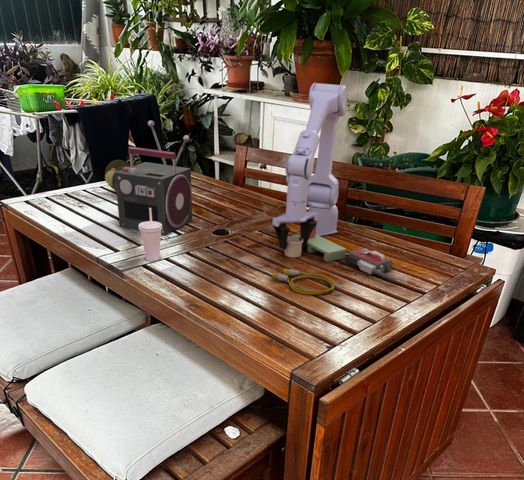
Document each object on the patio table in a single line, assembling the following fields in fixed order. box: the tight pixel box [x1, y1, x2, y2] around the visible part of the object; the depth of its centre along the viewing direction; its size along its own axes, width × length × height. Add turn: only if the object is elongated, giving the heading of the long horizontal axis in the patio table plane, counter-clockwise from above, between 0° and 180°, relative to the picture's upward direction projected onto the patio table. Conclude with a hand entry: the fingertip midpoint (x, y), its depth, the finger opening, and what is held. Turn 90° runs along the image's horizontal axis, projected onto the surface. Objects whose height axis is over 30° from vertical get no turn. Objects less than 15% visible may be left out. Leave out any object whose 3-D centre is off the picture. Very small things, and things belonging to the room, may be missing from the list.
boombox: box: [114, 120, 193, 236], centre depth 163 cm, size 18×21×30 cm
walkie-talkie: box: [344, 247, 397, 282], centre depth 143 cm, size 9×4×20 cm
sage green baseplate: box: [292, 233, 347, 263], centre depth 155 cm, size 7×17×3 cm, turn 34°
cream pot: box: [283, 235, 303, 258], centre depth 151 cm, size 6×6×5 cm
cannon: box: [104, 159, 131, 192], centre depth 199 cm, size 25×12×11 cm, turn 119°
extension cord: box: [272, 267, 336, 296], centre depth 134 cm, size 12×16×2 cm
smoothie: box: [138, 208, 162, 262], centre depth 141 cm, size 6×6×14 cm
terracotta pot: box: [298, 220, 318, 239], centre depth 157 cm, size 6×6×5 cm
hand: (293, 246), depth 151 cm, fingers open, 7 cm apart
